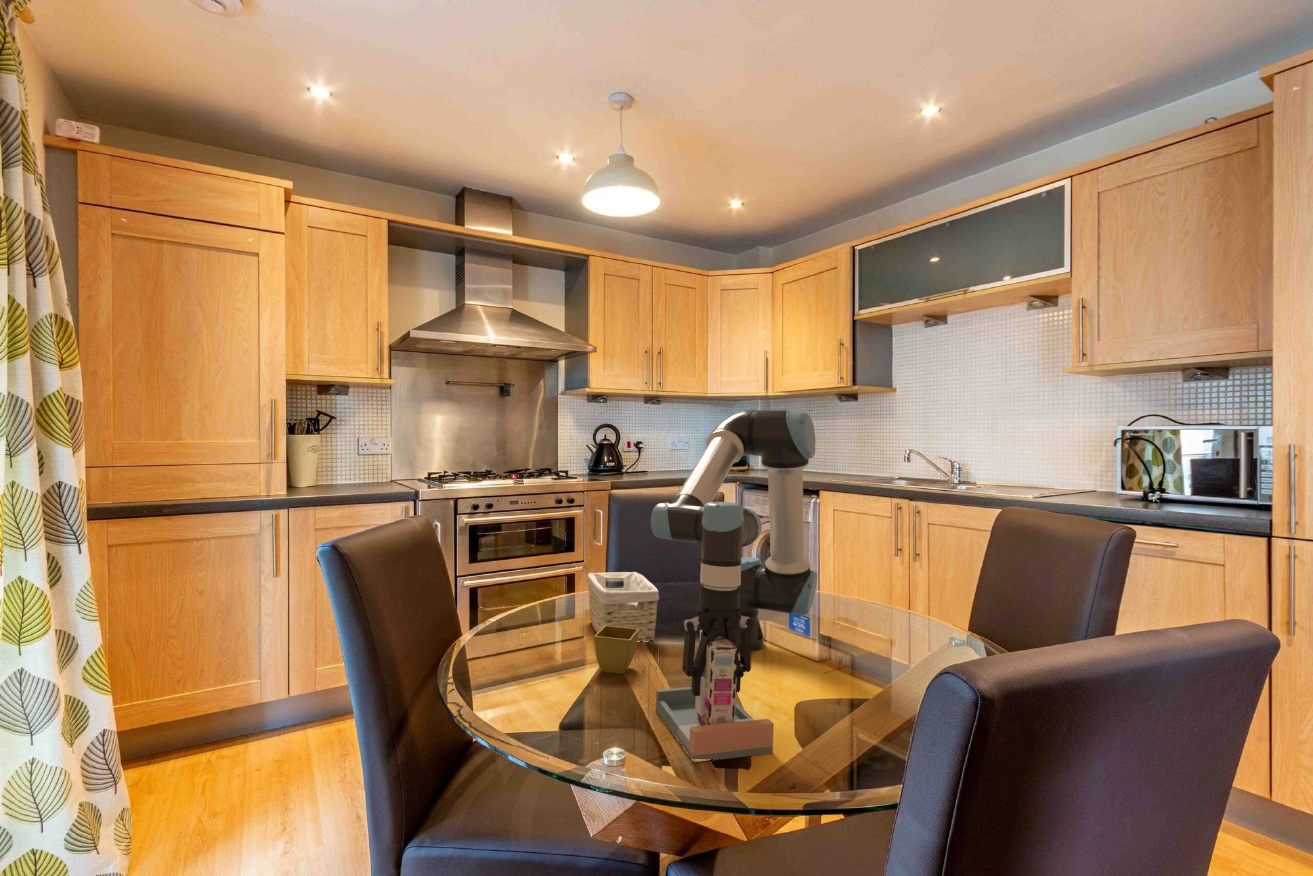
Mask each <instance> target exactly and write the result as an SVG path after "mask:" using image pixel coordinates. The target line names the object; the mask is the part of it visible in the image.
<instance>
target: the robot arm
mask: <svg viewBox="0 0 1313 876" xmlns="http://www.w3.org/2000/svg"><path fill="white" fill-rule="evenodd" d="M816 441H817V440H816V432H815V427H814V423H813V420H812V417H811V416H810V414H808V413H807V412H806V411H803V410H792V409H759V410H757V409H747V410H743V411H740V412H736V413H734V414H732V415H730V416H729V417H727V418H726V419H724V420H723V421H721V422H720V423H719V424H717V426H716V427H714V429H713V430H712V431H711V433H709V436H708V437H707V439H706V448H705V450H704V451H703V453H702V454H701V456H700V458H699V459H698V461H697V462H696V464H695V466H694V467H693V469H692V470H691V472H690V473H689V474H688V477H687V478H686V480H685V481H684V482H683V484H682V486H681V488H680V490H679V491H678V493H677V494H676V496H675V497H674V498H673V500H672V501H671V503H670V502H659V503H658V504H656V505H655V506H654V508H653V509H652V513H651V517H650V527H651V530H652V534H653V535H654V536H655V537H656V538H658V539H664V540H665V539H666V540H670V541H677V542H678V541H679V542H688V543H689V542H690V543H698V544H701V557H700V574H699V575H700V576H699V578H700V579H699V580H700V581H699V582H700V584H701V586H699V596H698V597H699V598H698V599H699V600H698V601H699V602H698V605H699V607H698V608H699V609H698V612H697V613H696V616H695V617H693V618H690V619H688V618H684V619H683V620H682V626H683V629H684V642H683V652H682V653H683V654H682V655H683V656H682V666H681V669H682V672H683V673H684V674H685V675H686V676H687V677H689V678H690V677H691V687H692V688H691V691H692V693H693V695H694V696H696V700H695V710H696V711H697V712H698V714H699V715H700V716H703V715H704V709H705V684H706V679H705V678H703V677H702V675H703V671H704V668H705V665H706V651H707V642H714V639H715V638H717V637H720V636H721V637H725V638H727V639H728V640H729V641H732V643H733V644H734V645H735V647H736V648H737V664H736V686H735V707H736V703H737V702H736V701H737V693H740V691H741V683H742V682H741V679H742V678H743V677H744V676H745V673H750V671H751V670H752V652H756V651H759V650H761V649H763V648H764V644H765V643H764V641H765V639H764V633H763V630H762V626H761V623H760V619H759V609H760V610H764V611H771V612H777V613H783V614H790V615H801V616H805V615H808V614H809V612H810V611H811V609H812V606H813V604H814V603H813V602H814V599H815V594H816V590H817V584H818V583H817V582H818V574H817V571H815V570H813V569H811V562H810V561H809V560H808V559H807V558H806V557H805V547H804V544H805V541H804V537H805V536H804V484H803V483H804V482H803V481H804V478H803V476H804V475H803V474H804V473H803V471H804V469H805V468H807V466H808V465H809V462H810V461H809V460H810V459H812V458H814V457H815V454H816V444H817V442H816ZM743 456H753V457H755V456H757V457H761V466H763V468H764V469H766V470H767V479H768V480H767V481H768V485H767V486H768V509H769V510H768V511H769V513H768V516H769V520H768V521H769V544H770V545H769V548H770V549H769V550H770V551H769V552H770V557H768V558H766V560H765V562H764V564H762V562H761V559H760V558H758V557H752V556H751V557H749V556H745V557H743V556H742V554H743V552H742V551H743V548H744V547H747V546H750V545H752V544H753V543H754V542H755V541H756V540H758V539H759V537H760V535H761V533H762V521H761V518H760V517H759V515H758V514H757V513H756V512H755V511H754V510H752V509H750V508H746V507H743V505H741V504H740V503H736V502H728V501H714V499H715V497H716V496H717V494H718V492H719V490H720V489H721V487H722V485H723V483H724V481H725V479H726V478H727V476H728V474H729V472H730V471H731V468H732V467H733V464H735V463H737V462H739V461H740V460H741V459H742V457H743ZM698 625H699V626H700V627H701V628H702V629H701V630H702V633H701V640H700V639H699V643H698V644H699V645H698V647H697V650H696V639H697V636H696V631H697V630H698ZM695 651H696V652H695ZM735 707H734V708H735ZM734 712H735V709H734Z"/></svg>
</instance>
